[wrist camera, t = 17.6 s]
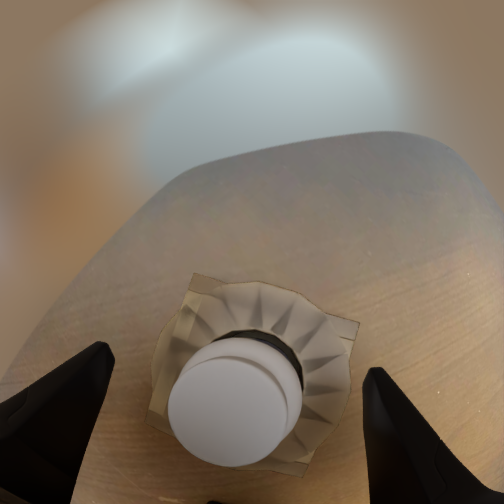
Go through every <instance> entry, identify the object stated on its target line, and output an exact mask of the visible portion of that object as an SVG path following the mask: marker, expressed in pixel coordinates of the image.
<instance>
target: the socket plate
mask: <svg viewBox="0 0 504 504" xmlns="http://www.w3.org/2000/svg"><path fill="white" fill-rule="evenodd" d="M359 325H360V323H359V322H356V321H352V320H349V319H345V318H341V317H338V316H334V315H331V314H327V313H324V312H323V311H322V310H320V309H319V308H318V307H317V306H315V305H314V304H313V303H312V302H310V301H309V300H308V299H307V298H305V297H304V296H303V295H302V294H300V293H298V292H295V291H292V290H288V289H285V288H282V287H278V286H275V285H272V284H268V283H265V282H260V281H255V282H244V283H232V284H228V283H224V282H221V281H218V280H215V279H212V278H209V277H206V276H203V275H200V274H197V273H194V274H193V277H192V279H191V282H190V285H189V288H188V290H187V293H186V296H185V299H184V301H183V304H182V307H181V309H180V310H179V311H178V312H177V313H176V314H175V315H174V317H173V318H172V319H171V320H170V321H169V322H168V323H167V325H166V326H165V327H164V328H163V330H162V331H161V334H160V336H159V339H158V342H157V345H156V349H155V352H154V355H153V358H152V361H151V378H152V390H153V394H152V398H151V401H150V404H149V408H148V412H147V415H146V419H145V423H146V424H148V425H150V426H152V427H154V428H156V429H158V430H160V431H162V432H164V433H166V434H168V435H171V436H173V437H175V438H176V439H177V437H176V436H175V434H174V432H173V430H172V428H171V425H170V422H169V417H168V401H169V396H170V393H171V390H172V388H173V386H174V384H175V383H176V381H177V380H178V378H179V375H180V373H181V371H182V369H183V367H184V366H185V364H186V363H187V362H188V360H189V359H190V358H191V357H192V356H193V355H194V354H195V353H196V352H197V351H198V350H200V349H201V348H203V347H204V346H206V345H208V344H210V343H212V342H215V341H218V340H222V339H227V338H229V337H231V336H233V335H235V334H237V333H239V332H252V331H259V332H263V333H266V334H269V335H272V336H275V337H277V338H278V339H279V340H280V341H282V342H283V343H284V344H285V345H286V346H288V347H289V348H290V350H291V352H292V354H293V355H294V357H295V359H296V361H297V363H298V371H299V381H300V385H301V390H302V407H301V412H300V415H299V418H298V420H297V422H296V424H295V426H294V427H293V429H292V430H291V431H290V433H289V434H288V435H287V436H286V437H285V438H284V439H283V440H282V441H281V442H280V443H279V445H278V446H277V447H276V448H275V449H274V450H273V451H272V452H271V453H270V454H269V455H268V456H266V457H265V458H263V459H261V460H259V461H257V462H255V463H252V464H249V465H245V466H239V467H226V468H229V469H233V470H237V471H246V470H270V471H274V472H278V473H282V474H287V475H292V476H296V477H303V476H304V474H305V472H306V470H307V467H308V465H309V463H310V461H311V459H312V457H313V455H314V452H315V450H316V449H317V448H318V447H319V446H320V445H321V444H322V443H323V442H324V441H325V440H326V438H327V437H328V436H329V435H330V434H331V433H332V432H333V431H334V430H335V429H336V428H337V426H338V425H339V422H340V420H341V417H342V415H343V412H344V409H345V407H346V404H347V401H348V399H349V396H350V393H351V375H350V361H349V359H350V356H351V353H352V349H353V346H354V342H355V339H356V336H357V332H358V328H359ZM177 440H178V439H177ZM178 441H179V440H178ZM223 467H225V466H223Z"/></svg>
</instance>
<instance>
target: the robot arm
mask: <svg viewBox="0 0 504 504" xmlns="http://www.w3.org/2000/svg"><path fill="white" fill-rule="evenodd" d="M114 364H115V358H114V355H113V353H112V351H111V349H110V347H109V345H108V344H107V343H105V342H101V341H97V342H95V343H93V344H92V345H90V346H89V347H87V348H86V349H84V350H83V351H81V352H80V353H78V354H77V355H75V356H74V357H72V358H71V359H69V360H68V361H66V362H64V363H63V364H61V365H60V366H58V367H57V368H55V369H54V370H52V371H51V372H49V373H48V374H46V375H45V376H43V377H42V378H40V379H39V380H37V381H36V382H34V383H33V384H31V385H30V386H29V387H27V388H25V389H24V390H22V391H21V392H19V393H17V394H16V395H14V396H13V397H11V398H9V399H7V400H6V401H4V402H2V403H0V504H70V502H71V498H72V494H73V491H74V487H75V484H76V480H77V477H78V473H79V470H80V467H81V464H82V460H83V457H84V454H85V451H86V448H87V445H88V442H89V439H90V437H91V434H92V431H93V428H94V425H95V423H96V420H97V417H98V414H99V412H100V409H101V407H102V404H103V401H104V399H105V396H106V392H107V389H108V385H109V382H110V378H111V374H112V371H113V368H114ZM362 393H363V430H364V439H365V448H366V457H367V467H368V479H369V494H370V504H504V493H501V492H497V491H494V490H491V489H489V488H487V487H486V486H485V485H483V484H482V483H481V482H480V481H479V480H478V479H477V478H476V477H475V476H474V475H473V474H472V473H471V472H470V471H469V470H468V469H467V468H466V467H465V466H464V465H463V464H462V463H461V462H460V461H459V460H458V459H457V458H456V457H455V455H454V454H453V453H452V452H451V451H450V449H449V448H448V447H447V446H446V445H445V443H444V442H443V441H442V440H440V437H439V436H438V435H437V433H436V432H435V431H434V430H433V428H432V427H431V426H430V425H429V423H428V422H427V421H426V420H425V418H424V417H423V416H422V415H421V414H420V412H419V411H418V410H417V409H416V407H415V406H414V405H413V404H412V402H411V401H410V400H409V399H408V398H407V396H406V395H405V394H404V393H403V392H402V390H401V389H400V388H399V387H398V385H397V384H396V383H395V382H394V381H393V379H392V378H391V377H390V376H389V375H388V373H387V372H386V371H385V370H384V369H383V368H382V367H372V368H370V369H369V370H368V373H367V375H366V377H365V379H364V382H363V386H362ZM207 504H221V503H218V502H215V501H209V502H208V503H207Z"/></svg>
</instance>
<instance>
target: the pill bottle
mask: <svg viewBox="0 0 504 504" xmlns="http://www.w3.org/2000/svg"><path fill="white" fill-rule="evenodd" d="M301 407H302V390H301V385H300V381H299V378H298V375H297V373H296V370H295V369H294V367H293V365H292V363H291V362H290V360H289V358H288V357H287V355H286V354H285V353H284V352H283V351H282V350H281V349H280V348H279V347H277V346H276V345H274V344H272V343H270V342H268V341H265V340H262V339H256V338H243V337H240V338H236V337H234V338H227V339H222V340H218V341H215V342H212V343H210V344H208V345H206V346H204V347H203V348H201V349H200V350H198V351H197V352H196V353H195V354H194V355H193V356H192V357H191V358H190V359H189V360H188V362H187V363H186V364H185V366H184V367H183V369H182V371H181V373H180V375H179V378H178V380H177V381H176V383H175V384H174V386H173V388H172V390H171V393H170V396H169V401H168V417H169V422H170V425H171V428H172V430H173V432H174V434H175V436H176V437H177V439H178V440H179V441H180V443H181V444H182V445H183V446H184V447H185V448H186V449H187V450H188V451H189V452H190V453H192V454H193V455H194V456H196V457H197V458H199V459H201V460H203V461H205V462H208V463H211V464H214V465H219V466H225V467H239V466H245V465H249V464H252V463H255V462H257V461H259V460H261V459H263V458H265V457H266V456H268V455H269V454H270V453H271V452H272V451H273V450H274V449H275V448H276V447H277V446H278V445H279V443H280V442H281V441H282V440H283V439H284V438H285V437H286V436H287V435H288V434H289V433H290V431H291V430H292V429H293V427H294V426H295V424H296V422H297V420H298V418H299V415H300V412H301Z"/></svg>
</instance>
